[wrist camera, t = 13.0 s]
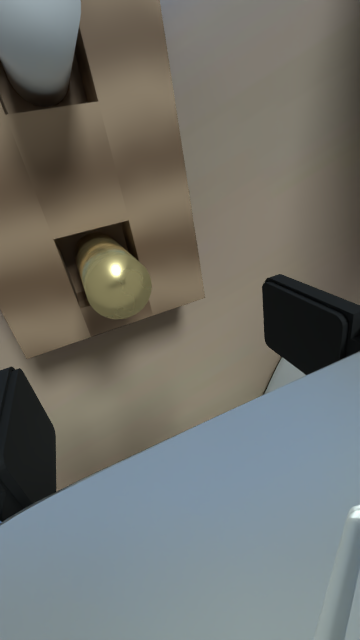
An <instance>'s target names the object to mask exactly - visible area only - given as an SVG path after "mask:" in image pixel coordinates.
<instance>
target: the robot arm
mask: <svg viewBox="0 0 360 640" xmlns="http://www.w3.org/2000/svg"><path fill="white" fill-rule="evenodd" d="M262 293H263V314H264V335H265V342H266V344H267V346H268V347H269V348H271V349H272V350H273V351H275V352H276V353H277V354H279V355H280V356H281V357H283V358H284V359H285V360H287V361H288V362H289V363H291V364H292V365H293V366H295V367H296V368H297V369H299V370H300V371H301V372H303V373H304V374H305V375H306V376H304V377H302V378H299V379H297V380H295V381H293V382H291V383H289V384H286V385H284V386H282V387H280V388H278V389H276V390H273V391H271V392H269V393H267V394H265V395H262V396H260V397H258V398H256V399H254V400H252V401H249V402H247V403H245V404H243V405H241V406H239V407H236V408H234V409H232V410H230V411H228V412H225V413H223V414H221V415H219V416H217V417H215V418H212V419H210V420H208V421H206V422H204V423H202V424H199V425H197V426H195V427H193V428H191V429H188V430H186V431H184V432H182V433H180V434H178V435H175V436H173V437H171V438H169V439H167V440H165V441H162V442H160V443H158V444H156V445H154V446H152V447H150V448H147V449H145V450H143V451H141V452H139V453H137V454H135V455H132V456H130V457H128V458H126V459H124V460H122V461H120V462H117V463H115V464H113V465H111V466H109V467H107V468H105V469H102V470H100V471H98V472H96V473H94V474H92V475H89V476H87V477H85V478H83V479H81V480H79V481H77V482H75V483H73V484H71V485H69V486H67V487H65V488H63V489H61V490H59V491H57V492H56V436H55V430H54V427H53V425H52V423H51V421H50V419H49V417H48V416H47V414H46V412H45V410H44V408H43V407H42V405H41V403H40V401H39V399H38V398H37V396H36V394H35V392H34V391H33V389H32V387H31V385H30V383H29V382H28V380H27V378H26V376H25V374H24V373H23V371H22V370H21V369H20V368H19V369H17V370H15V369H14V368H13V367H9V368H6V369H3V370H0V640H360V305H357V304H355V303H352V302H350V301H347V300H344V299H342V298H339V297H337V296H334V295H332V294H329V293H327V292H324V291H322V290H319V289H317V288H314V287H312V286H309V285H307V284H304V283H302V282H299V281H297V280H294V279H292V278H289V277H286V276H284V275H281V274H279V275H276V276H273V277H270V278H267V279H266V280H265V283H264V284H263V286H262Z"/></svg>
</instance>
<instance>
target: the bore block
mask: <svg viewBox="0 0 360 640" xmlns="http://www.w3.org/2000/svg"><path fill="white" fill-rule="evenodd" d="M93 232H100V233H104V234H107V235H109V236H110V237H112V238H113V239H114V240H115V241H116V242H117V243H118V244H120V245H121V246H122V247H123V248H124V249H125V250H126V251H127V252H129V253H130V254H131V255H132V256H133V257H134V258H135V259H137V260H138V261H139V262H140V263H141V264H142V265H143V266H144V267H145V268H146V269H147V271H148V273H149V275H150V278H151V283H152V290H151V295H150V298H149V300H148V302H147V304H146V305H145V306H144V308H143V309H142V310H141V311H139V312H138V313H137V314H135V315H133V316H131V317H128V318H125V319H111V318H107V317H104V316H102V315H100V314H99V313H97V312H96V311H95V310H94V309H93V308H92V307H91V305H90V303H89V301H88V299H87V296H86V293H85V290H84V287H83V283H82V280H81V277H80V274H79V271H78V267H77V264H76V261H75V257H74V251H75V247H76V244H77V243H78V241H79V240H80V239H81V238H82V237H83V236H85V235H87V234H89V233H93ZM203 298H205V294H204V287H203V281H202V274H201V268H200V261H199V255H198V248H197V242H196V235H195V228H194V222H193V215H192V209H191V202H190V196H189V189H188V183H187V176H186V170H185V163H184V157H183V150H182V144H181V137H180V131H179V124H178V117H177V111H176V104H175V98H174V91H173V85H172V78H171V72H170V65H169V59H168V52H167V46H166V39H165V33H164V26H163V20H162V13H161V6H160V0H81V16H80V23H79V29H78V35H77V40H76V46H75V52H74V57H73V63H72V69H71V74H70V80H69V86H68V90H67V93H66V95H65V97H64V98H63V99H62V100H61V101H60V102H59V103H58V104H56V105H54V106H50V107H41V106H37V105H34V104H32V103H30V102H28V101H26V100H25V99H24V98H22V97H21V96H20V95H19V94H18V93H17V92H16V90H15V89H14V88H13V86H12V85H11V83H10V81H9V79H8V77H7V75H6V72H5V70H4V67H3V65H2V62H1V60H0V310H1V312H2V314H3V316H4V317H5V319H6V321H7V323H8V325H9V327H10V329H11V330H12V332H13V334H14V336H15V338H16V340H17V342H18V344H19V345H20V347H21V349H22V351H23V353H24V355H25V357H26V359H29V358H32V357H34V356H37V355H40V354H43V353H46V352H49V351H52V350H55V349H58V348H61V347H63V346H66V345H69V344H72V343H75V342H78V341H81V340H84V339H87V338H90V337H92V336H95V335H98V334H101V333H104V332H107V331H110V330H113V329H116V328H119V327H122V326H124V325H127V324H130V323H133V322H136V321H139V320H142V319H145V318H148V317H151V316H153V315H156V314H159V313H162V312H165V311H168V310H171V309H174V308H177V307H180V306H182V305H185V304H188V303H191V302H194V301H197V300H200V299H203Z"/></svg>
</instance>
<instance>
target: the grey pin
mask: <svg viewBox="0 0 360 640" xmlns="http://www.w3.org/2000/svg"><path fill="white" fill-rule="evenodd" d="M80 16H81V0H0V60H1V62H2V65H3V67H4V70H5V72H6V75H7V77H8V79H9V81H10V83H11V85H12V86H13V88H14V89H15V90H16V92H17V93H18V94H19V95H20V96H21V97H22V98H24V99H25V100H26V101H28V102H30V103H32V104H34V105H37V106H41V107H50V106H54V105H56V104H58V103H59V102H60V101H61V100H62V99H63V98H64V97H65V95H66V93H67V90H68V86H69V80H70V74H71V69H72V63H73V57H74V52H75V46H76V40H77V35H78V29H79V23H80Z"/></svg>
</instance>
